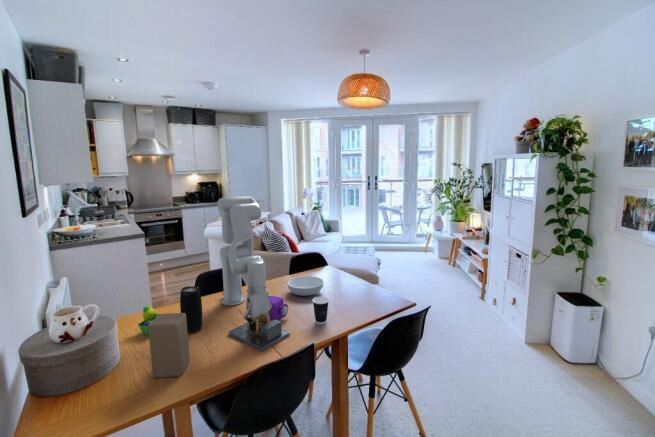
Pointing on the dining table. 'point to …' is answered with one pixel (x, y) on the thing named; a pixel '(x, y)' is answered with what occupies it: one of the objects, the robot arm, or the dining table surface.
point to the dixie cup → (320, 309)
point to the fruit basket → (147, 319)
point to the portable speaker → (191, 307)
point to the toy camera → (277, 308)
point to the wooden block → (169, 344)
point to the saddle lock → (262, 318)
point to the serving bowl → (305, 285)
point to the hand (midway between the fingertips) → (258, 327)
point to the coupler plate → (255, 337)
